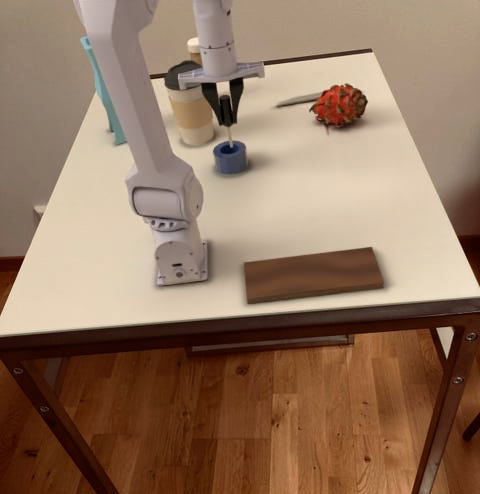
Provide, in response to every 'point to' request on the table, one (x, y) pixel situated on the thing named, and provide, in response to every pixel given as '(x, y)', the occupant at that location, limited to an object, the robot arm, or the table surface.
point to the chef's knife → (302, 99)
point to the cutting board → (312, 275)
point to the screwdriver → (226, 114)
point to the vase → (104, 95)
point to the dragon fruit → (340, 105)
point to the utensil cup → (230, 157)
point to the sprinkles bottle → (194, 50)
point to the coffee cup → (189, 106)
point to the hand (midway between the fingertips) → (228, 122)
